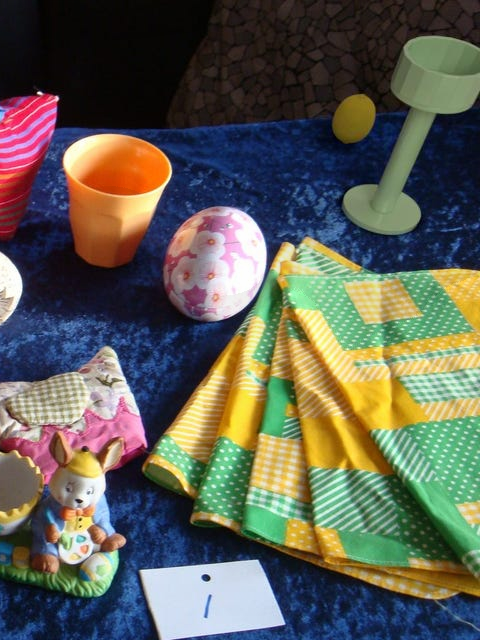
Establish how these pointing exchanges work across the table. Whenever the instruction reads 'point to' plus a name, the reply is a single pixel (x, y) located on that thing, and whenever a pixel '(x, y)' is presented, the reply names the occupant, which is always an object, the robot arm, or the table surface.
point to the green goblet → (416, 126)
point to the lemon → (353, 118)
